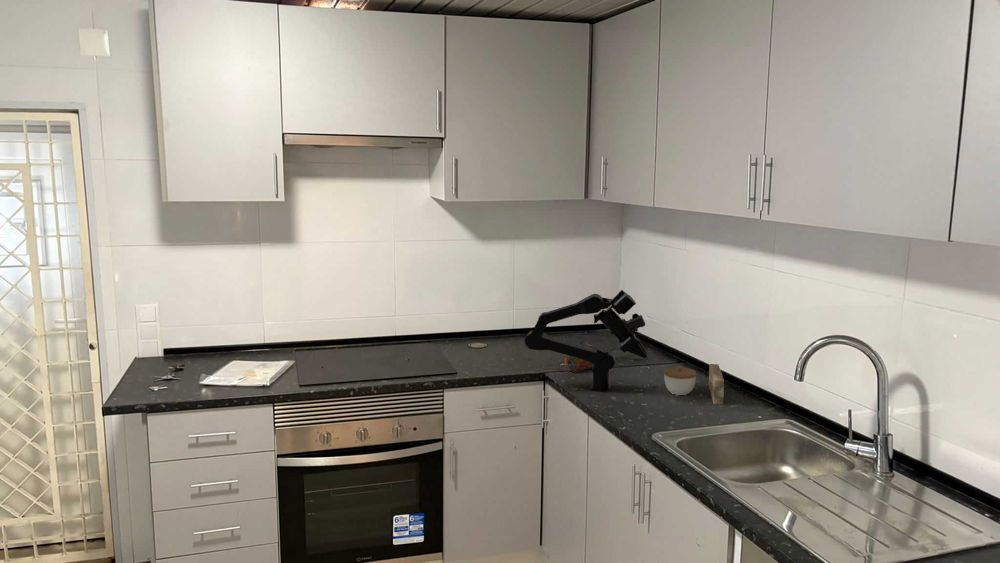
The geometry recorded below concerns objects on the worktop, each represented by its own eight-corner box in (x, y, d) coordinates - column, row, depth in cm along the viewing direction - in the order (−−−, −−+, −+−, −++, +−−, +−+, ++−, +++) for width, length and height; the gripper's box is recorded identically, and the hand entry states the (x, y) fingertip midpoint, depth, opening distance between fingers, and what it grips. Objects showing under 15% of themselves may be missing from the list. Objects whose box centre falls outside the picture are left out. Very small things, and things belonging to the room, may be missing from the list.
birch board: (713, 403, 244) (714, 380, 243) (708, 385, 264) (709, 363, 262) (723, 404, 244) (724, 380, 242) (717, 386, 263) (718, 364, 262)
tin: (568, 373, 279) (568, 352, 278) (562, 372, 282) (562, 350, 280) (596, 366, 289) (596, 345, 287) (590, 365, 291) (590, 344, 290)
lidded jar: (700, 397, 251) (701, 370, 250) (670, 398, 250) (671, 371, 248) (688, 387, 262) (689, 361, 260) (659, 388, 260) (659, 363, 259)
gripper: (631, 313, 245) (664, 347, 245) (632, 302, 263) (662, 334, 263) (606, 335, 248) (639, 369, 248) (609, 323, 266) (639, 354, 266)
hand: (646, 355), depth 256 cm, fingers open, 4 cm apart
